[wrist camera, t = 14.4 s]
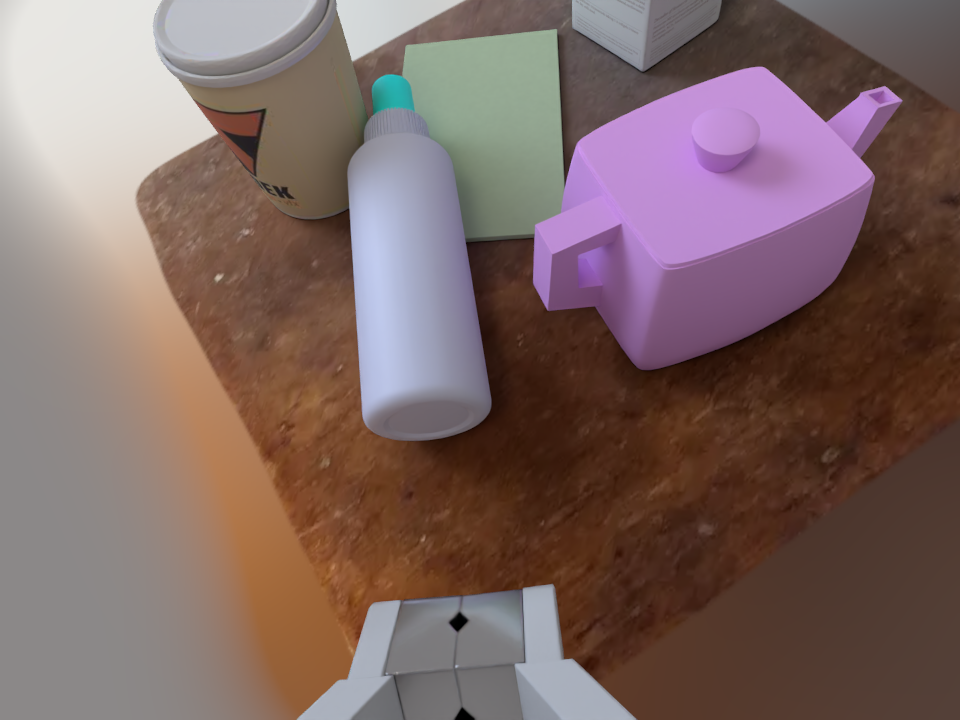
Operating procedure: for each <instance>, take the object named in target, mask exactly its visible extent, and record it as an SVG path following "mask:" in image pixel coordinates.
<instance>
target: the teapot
mask: <svg viewBox="0 0 960 720" xmlns="http://www.w3.org/2000/svg"><path fill="white" fill-rule="evenodd" d="M901 102H902V100H901V99H900V98H899V97H897V96H896V95H895V94H894V93H893V92H891V91H890V90H889V89H888V88H887V87H886V86H884V87H880V88H877V89H873V90H869V91H866V92H862V93H861V94H860V95H859V97H858V98H857V99H856V100H854V101H853V102H852V103H850V104H849V105H848V106H847V107H845V108H844V109H843V110H842V111H840V112H839V113H838V114H837V115H835V116H834V117H833V118H832V119H830V120H829V121H828V122H826V123H825V122H824V121H823V120H822V119H821V118H820V117H819V116H818V115H817V114H816V113H815V112H814V111H813V110H812V109H811V108H810V107H809V106H808V105H807V104H805V103H804V102H803V101H802V100H801V99H800V98H799V97H798V96H797V95H796V94H795V93H794V92H793V91H792V90H791V89H789V88H788V87H787V86H786V85H785V84H784V83H783V82H782V81H780V80H779V79H778V78H777V77H776V76H775V75H773V74H772V73H771V72H770V71H769V70H767V69H766V68H765V67H752V68H747V69H743V70H739V71H736V72H732V73H729V74H726V75H723V76H720V77H717V78H714V79H711V80H708V81H705V82H703V83H700V84H697V85H694V86H692V87H689V88H686V89H684V90H681V91H678V92H676V93H673V94H671V95H668V96H666V97H663V98H661V99H659V100H656V101H654V102H652V103H650V104H647V105H645V106H643V107H641V108H638V109H636V110H634V111H632V112H630V113H628V114H626V115H624V116H621V117H619V118H617V119H615V120H613V121H611V122H609V123H607V124H605V125H604V126H602V127H600V128H598V129H596V130H595V131H593V132H591V133H590V134H588V135H587V136H585V137H584V138H582V139H581V140H580V141H579V142H578V143H577V145H576V148H575V151H574V154H573V157H572V161H571V165H570V169H569V172H568V176H567V180H566V185H565V189H564V194H563V200H562V208H561V214H558V215H556V216H554V217H552V218H549V219H547V220H545V221H543V222H540V223H538V224H536V225H535V241H534V269H533V284H534V286H535V288H536V290H537V292H538V294H539V295H540V297H541V299H542V301H543V303H544V305H545V307H546V308H547V310H548V311H553V310H563V309H573V308H583V307H593V306H595V307H596V309H597V311H598V312H599V314H600V315H601V317H602V318H603V320H604V322H605V323H606V325H607V326H608V328H609V329H610V331H611V332H612V334H613V335H614V337H615V338H616V340H617V341H618V343H619V344H620V346H621V348H622V349H623V350H624V352H625V353H626V354H627V356H628V357H629V359H630V360H631V361H632V363H633V364H634V365H635V366H636V367H637V368H639V369H641V370H653V369H659V368H663V367H666V366H670V365H673V364H677V363H680V362H683V361H686V360H689V359H691V358H694V357H697V356H700V355H703V354H706V353H709V352H711V351H714V350H717V349H719V348H722V347H725V346H727V345H730V344H732V343H734V342H737V341H739V340H741V339H743V338H745V337H747V336H750V335H752V334H753V333H755V332H757V331H759V330H761V329H763V328H765V327H767V326H768V325H770V324H772V323H774V322H776V321H778V320H779V319H781V318H783V317H785V316H786V315H788V314H790V313H792V312H794V311H795V310H797V309H799V308H801V307H802V306H804V305H805V304H807V303H808V302H810V301H811V300H813V299H814V298H816V297H817V296H818V295H820V294H821V293H822V292H823V291H824V290H825V289H826V288H827V287H828V286H830V285H831V284H832V282H833V281H834V280H835V279H836V277H837V276H838V274H839V273H840V271H841V269H842V267H843V265H844V264H845V262H846V260H847V258H848V256H849V254H850V252H851V250H852V248H853V246H854V244H855V241H856V239H857V237H858V234H859V232H860V229H861V226H862V223H863V220H864V217H865V213H866V210H867V207H868V203H869V200H870V196H871V193H872V188H873V184H874V179H875V176H874V175H873V173H872V172H871V170H870V169H869V168H868V167H867V166H866V165H865V163H864V162H863V161H862V160H861V159H860V158H861V156H862V155H863V154H864V152H865V151H866V150H867V148H868V147H869V146H870V144H871V143H872V142H873V140H874V139H875V138H876V136H877V135H878V134H879V132H880V131H881V129H882V128H883V127H884V125H885V124H886V123H887V121H888V120H889V119H890V117H891V116H892V115H893V113H894V112H895V111H896V109H897V108H898V107H899V105H900V104H901Z"/></svg>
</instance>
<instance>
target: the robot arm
mask: <svg viewBox="0 0 960 720" xmlns="http://www.w3.org/2000/svg"><path fill="white" fill-rule="evenodd" d="M297 720H637V719H636V718H635V717H634V716H632V715H631V714H630V713H629V712H628V711H627V710H626V709H625V708H624V707H623V706H622V705H621V704H620V703H619V702H618V701H617V700H616V699H615V698H614V697H613V696H612V695H610V693H608V692H607V691H606V690H605V689H604V688H603V687H602V686H601V685H600V684H599V683H598V682H597V681H596V680H595V679H594V678H593V677H592V676H591V675H590V674H589V673H587V672H586V671H585V670H584V669H583V668H582V667H581V666H580V665H579V664H578V663H577V662H576V661H575V660H574V659H565V660H564V653H563V645H562V638H561V630H560V622H559V615H558V607H557V600H556V592H555V587H554V586H553V584H550V585H542V586H534V587H527V588H523V589H519V590H509V591H500V592H491V593H481V594H472V595H457V596H444V597H431V598H418V599H405V600H403V601H402V600H396V601H385V602H374V603H373V604H372V605H371V606H370V608H369V609H368V613H367V616H366V619H365V623H364V626H363V629H362V633H361V636H360V639H359V643H358V646H357V649H356V653H355V656H354V659H353V662H352V666H351V669H350V672H349V676H348V679H347V680H338V681H337V682H336V683H335V684H334V685H333V686H332V687H331V688H330V689H329V690H328V691H326V692H325V693H324V694H323V695H322V696H321V697H320V698H319V699H318V700H317V701H316V702H315V703H314V704H313V705H311V706H310V707H309V708H308V709H307V710H306V711H305V712H304V713H303V714H302V715H301V716H300V717H299V718H298V719H297Z"/></svg>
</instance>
